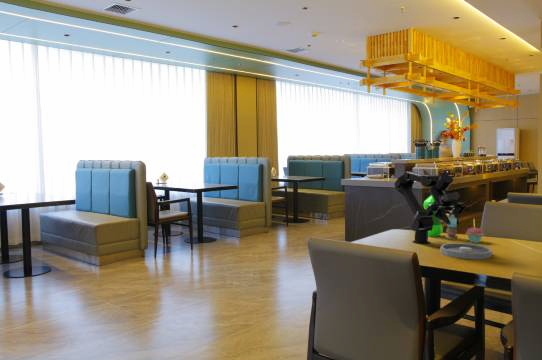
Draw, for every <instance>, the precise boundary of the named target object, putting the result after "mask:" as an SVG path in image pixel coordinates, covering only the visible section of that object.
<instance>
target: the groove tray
mask: <svg viewBox="0 0 542 360" xmlns="http://www.w3.org/2000/svg"><path fill="white" fill-rule="evenodd" d="M439 249H440V250H439V251H440V253H441V255H444V256H446V257H451V258H455V259H462V260H486V259H490V258H492V256H493V249H491V248H490V247H487V246H484V245H479V244H476V243H475V244H472V243H460V242H454V243H452V242H451V243H444V244H441V245H440V248H439Z"/></svg>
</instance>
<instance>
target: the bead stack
mask: <svg viewBox="0 0 542 360" xmlns="http://www.w3.org/2000/svg"><path fill="white" fill-rule="evenodd" d="M450 214H451V213H450ZM450 214H449V216H447V217H448V219H449V221H450V225H448V224H447V223H446V227H447V228H446V234H445V235H444V236H445V238H446V239H448V240H457V239H458V235H457V232H458V231H457V227H458V226H457V225H458V224H457V218H455V217H454V215H453V214H451V215H450Z"/></svg>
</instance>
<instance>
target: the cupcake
mask: <svg viewBox="0 0 542 360" xmlns="http://www.w3.org/2000/svg"><path fill="white" fill-rule="evenodd" d="M465 234H466V235H467V237H468V240H469V242H470V243H475V244H476V243H480V242H481V240H482V238H483V237H484V236H485V231H484V230H483V229H482V228H478V227H476V219H475V218H473V227H470V228H468V229H466V232H465Z"/></svg>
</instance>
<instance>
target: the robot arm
mask: <svg viewBox="0 0 542 360" xmlns="http://www.w3.org/2000/svg"><path fill="white" fill-rule="evenodd" d="M415 182H416V183H417V182H418V183H420V185H422V186H423V187H424V188H430V189H428V192H427V196H431V195H432V197H433V199H434V202H433V203H434V204H430V205H429V206H428V207H427V209H426V210H425V209H423V208H422V205H421V204H420V202H419V200H418V199H417V197H416V195H415V193H414V191H413V187H414V186H413V185H414V184H415ZM453 182H454V179H453V177H452V176H451V175H449V174H447V173H446V172H445V171H444V172H443V171H441V172H440V174H439V175H437V174H430V175H429V174H428V175H427V174H423V173H419V172H415V171H405V172H404V173H403V174H402V175H400V176H399V177H398V178H397V179H396V180H395V182H394V188H395V189H396V190H397V192H398V193H399V194H401V195H402V196H403V197H404V199H405V201H406V203H407V204H408V207H409V208H410V210H411V212H412V214H413V215H414V218H413V223H412V224H411V230H412V231H414V240H412V241H411V242H412V243H416V244H420V245H425V244H431V241H429V236H428V231H432V227H433V223H434V222H433V219H432V215H433V211H435V215H434V216H435V217H438V218H439V219H441V222H442V221H443V222H444V223H445V224H446V225H447V224H448V225H450V221H449V219H448V217H449V216H450V215H451V214H453V215H454V217H455V218H457V225H459V223H460V221H459V215H461V214H463V212H465V210H466V209H467V208H468V206H467V204H466V203H465V202H456V204H454V202H455V201H458V199H460V198H461V196H460V193H459V192H458V191H454V192H448V193H446V192H445V191H446V190H448V189H449V188H450V186H451V185H452V183H453ZM453 204H454V205H453ZM424 210H425V211H424ZM446 212H449V213H450V214H449V216H448V215H447V213H446Z"/></svg>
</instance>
